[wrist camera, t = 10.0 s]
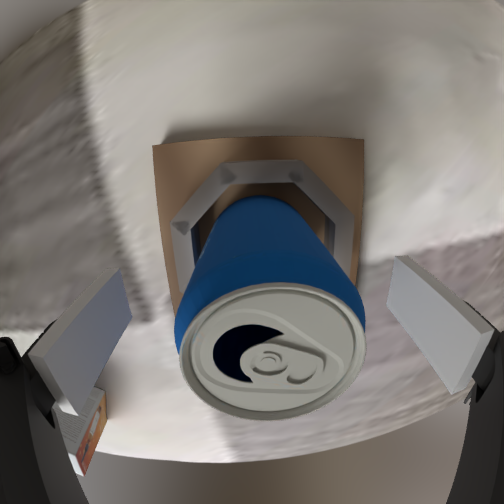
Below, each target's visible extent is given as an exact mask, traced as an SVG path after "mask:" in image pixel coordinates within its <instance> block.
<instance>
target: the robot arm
mask: <svg viewBox="0 0 504 504" xmlns="http://www.w3.org/2000/svg"><path fill="white" fill-rule="evenodd" d="M386 306H387V307H388V308H389V310H390V311H391V312H392V313H393V315H394V316H395V317H396V319H397V320H398V321H399V322H400V324H401V325H402V326H403V328H404V329H405V330H406V332H407V333H408V334H409V335H410V337H411V338H412V339H413V341H414V342H415V344H416V345H417V346H418V348H419V349H420V350H421V352H422V353H423V354H424V356H425V357H426V359H427V360H428V361H429V363H430V364H431V366H432V367H433V369H434V370H435V371H436V373H437V374H438V376H439V377H440V379H441V380H442V382H443V383H444V384H445V386H446V387H447V389H448V390H449V392H450V393H451V394H454V393H456V392H459V391H461V390H463V389H465V388H466V386H467V384H468V383H469V381H470V379H471V377H472V378H473V379H474V380H475V384H474V386H473V387H472V389H471V391H470V392H469V394H468V396H467V397H466V399H465V401H464V403H465V404H466V403H467V401H468V399H470V398H471V402H470V404H469V405H470V411H469V417H468V424H467V430H466V434H465V440H464V444H463V449H462V453H461V457H460V461H459V465H458V469H457V472H456V476H455V479H454V482H453V486H452V489H451V491H450V494H449V497H448V500H447V503H446V504H504V331H502V332H501V333H500V332H499V331H498V330H497V329H496V328H495V327H494V326H493V325H492V324H491V323H490V322H489V321H488V320H486V319H485V318H484V317H483V316H481V314H480V313H479V312H478V311H477V310H476V311H475V309H474V308H473V307H472V306H471V305H470V304H469V303H467V302H465V301H464V300H462V299H461V298H459V297H458V296H457V295H456V294H455V293H454V292H452V291H451V290H450V289H449V288H448V287H447V286H445V285H444V284H443V283H442V282H441V281H439V280H438V279H437V278H436V277H434V276H433V275H432V274H431V273H429V272H428V271H427V270H426V269H424V268H423V267H422V266H421V265H419V264H418V263H417V262H415V261H414V260H413V259H411V258H410V257H409V256H408V255H407V256H395V260H394V266H393V272H392V278H391V284H390V289H389V294H388V299H387V304H386ZM131 319H132V315H131V311H130V308H129V304H128V300H127V296H126V292H125V288H124V284H123V280H122V275H121V271H120V268H107V269H106V270H104V271H103V272H102V273H101V274H100V275H99V276H98V277H97V278H96V279H95V280H94V281H93V282H92V283H91V284H90V285H89V286H88V287H87V288H86V289H85V290H84V292H83V293H82V294H81V295H80V296H79V297H78V298H77V299H76V300H75V301H74V302H73V303H72V304H71V305H70V306H69V307H68V308H67V309H66V310H65V312H64V313H63V314H62V315H61V316H60V317H59V318H58V319H57V320H55V321H54V322H52V323H51V324H50V325H49V326H48V327H47V328H46V329H45V330H44V333H42V334H41V335H40V336H39V339H36V341H35V342H34V343H33V344H32V345H31V346H30V348H29V349H28V350H27V351H26V352H25V354H24V355H23V356H22V357H21V356H20V354H19V352H18V350H17V348H16V346H15V344H14V342H13V340H12V339H11V338H9V337H1V338H0V504H89V503H88V501H87V498H86V497H85V495H84V492H83V490H82V488H81V485H80V483H79V481H78V478H77V476H76V473H75V471H74V468H73V466H72V463H71V460H70V458H69V455H68V452H67V449H66V446H65V443H64V440H63V436H62V433H61V430H60V426H59V423H58V419H57V415H56V413H55V411H54V409H53V408H52V406H53V405H54V403H55V401H56V402H57V404H58V405H59V407H60V408H61V410H62V411H63V412H66V413H69V414H73V415H76V416H79V414H80V412H81V410H82V408H83V406H84V404H85V402H86V400H87V398H88V396H89V394H90V392H91V390H92V389H93V387H94V385H95V383H96V381H97V379H98V377H99V375H100V373H101V371H102V370H103V368H104V366H105V364H106V362H107V360H108V359H109V357H110V355H111V353H112V351H113V350H114V348H115V346H116V344H117V343H118V341H119V339H120V337H121V336H122V334H123V332H124V330H125V329H126V327H127V325H128V324H129V322H130V320H131Z"/></svg>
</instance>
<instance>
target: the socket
mask: <svg viewBox="0 0 504 504" xmlns="http://www.w3.org/2000/svg"><path fill="white" fill-rule="evenodd" d="M152 147H153V162H154V175H155V186H156V196H157V206H158V215H159V223H160V231H161V238H162V245H163V252H164V258H165V265H166V271H167V277H168V283H169V288H170V294H171V299H172V304H173V309H174V314H175V317H176V314H177V310H178V307H179V304H180V302H181V300H182V297H183V295H184V292H185V290H186V287H187V285H188V283H189V280H190V278H191V276H192V273H193V271H194V268H195V266H196V264H197V261H198V259H199V257H200V255H201V252H202V250H203V248H204V245H205V243H206V241H207V239H208V236H209V234H210V232H211V230H212V227H213V225H214V223H215V221H216V219H217V218H218V216H219V215H220V214H221V213H222V211H223V210H224V209H226V208H227V207H228V206H229V205H231V204H232V203H234V202H235V201H237V200H239V199H242V198H245V197H249V196H254V195H265V196H271V197H275V198H278V199H281V200H283V201H285V202H287V203H288V204H290V205H291V206H292V207H293V208H294V209H295V210H297V212H298V213H299V214H300V215H301V216H302V218H303V219H304V220H305V221H306V223H307V224H308V225H309V227H310V228H311V229H312V230H313V232H314V233H315V234H316V235H317V237H318V238H319V239H320V241H321V242H322V243H323V244H324V246H325V247H326V248H327V250H328V251H329V252H330V254H331V255H332V256H333V258H334V259H335V260H336V262H337V263H338V264H339V266H340V267H341V268H342V270H343V271H344V272H345V274H346V275H347V276H348V278H349V279H350V280H351V282H352V283H353V285H354V286H355V284H356V276H357V267H358V258H359V248H360V237H361V224H362V208H363V184H364V139H351V138H336V137H312V136H259V137H234V138H218V139H206V140H195V141H185V142H176V143H168V144H160V145H153V146H152Z"/></svg>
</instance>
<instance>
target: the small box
mask: <svg viewBox="0 0 504 504" xmlns="http://www.w3.org/2000/svg"><path fill="white" fill-rule="evenodd" d="M52 408H53V409H54V411H55V413H56V415H57V419H58V423H59V426H60V430H61V433H62V436H63V440H64V443H65V446H66V449H67V452H68V455H69V458H70V460H71V463H72V466H73V468H74V471H75V473H77V474H79V475H82V476H85V474H86V471H87V469H88V466H89V463H90V461H91V458H92V456H93V453H94V451H95V449H96V446H97V444H98V441H99V439H100V437H101V434H102V432H103V429H104V427H105V425H106V422H107V418H106V392H105V391H103V390H101V389H99V388H96V387H93V389H92V390H91V392H90V394H89V396H88V398H87V400H86V402H85V404H84V406H83V408H82V410H81V412H80V414H79V416H76V415H73V414H69V413H66V412H63V411H62V410H61V408H60V407H59V405H58V404H57V402H56V401H55V403H54V405H53V406H52Z"/></svg>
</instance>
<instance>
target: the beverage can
mask: <svg viewBox="0 0 504 504" xmlns="http://www.w3.org/2000/svg"><path fill="white" fill-rule="evenodd" d="M174 334H175V343H176V347H177V351H178V354H179V362H180V368H181V372H182V375H183V377H184V379H185V381H186V383H187V385H188V386H189V387H190V389H191V390H192V391H193V392H194V393H195V395H196V396H197V397H198V398H200V399H201V400H202V401H203V402H204V403H206V404H208V405H209V406H211V407H212V408H214V409H216V410H218V411H220V412H222V413H225V414H227V415H230V416H233V417H237V418H241V419H246V420H253V421H280V420H287V419H292V418H296V417H300V416H304V415H307V414H309V413H312V412H314V411H317V410H319V409H321V408H323V407H324V406H326V405H328V404H330V403H331V402H333V401H334V400H336V399H337V398H338V397H339V396H340V395H342V394H343V393H344V392H345V391H346V390H347V389H348V388H349V387H350V386H351V384H352V383H353V382H354V380H355V379H356V378H357V376H358V374H359V372H360V371H361V368H362V366H363V363H364V360H365V356H366V337H365V311H364V307H363V303H362V300H361V297H360V295H359V293H358V291H357V289H356V287H355V286H354V285H353V283H352V282H351V280H350V279H349V278H348V276H347V275H346V274H345V272H344V271H343V270H342V268H341V267H340V266H339V264H338V263H337V262H336V260H335V259H334V258H333V256H332V255H331V254H330V252H329V251H328V250H327V248H326V247H325V246H324V244H323V243H322V242H321V241H320V239H319V238H318V237H317V235H316V234H315V233H314V232H313V230H312V229H311V228H310V227H309V225H308V224H307V223H306V221H305V220H304V219H303V218H302V216H301V215H300V214H299V213H298V212H297V210H295V209H294V208H293V207H292V206H291V205H290V204H288V203H287V202H285V201H283V200H281V199H278V198H275V197H271V196H265V195H254V196H249V197H245V198H242V199H239V200H237V201H235V202H234V203H232V204H231V205H229V206H228V207H227V208H226V209H224V210H223V211H222V213H221V214H220V215H219V216H218V218H217V219H216V221H215V223H214V225H213V227H212V230H211V232H210V234H209V236H208V239H207V241H206V243H205V245H204V248H203V250H202V252H201V255H200V257H199V259H198V261H197V264H196V266H195V268H194V271H193V273H192V276H191V278H190V280H189V283H188V285H187V287H186V290H185V292H184V295H183V297H182V300H181V302H180V304H179V307H178V310H177V314H176V317H175V326H174Z"/></svg>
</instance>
